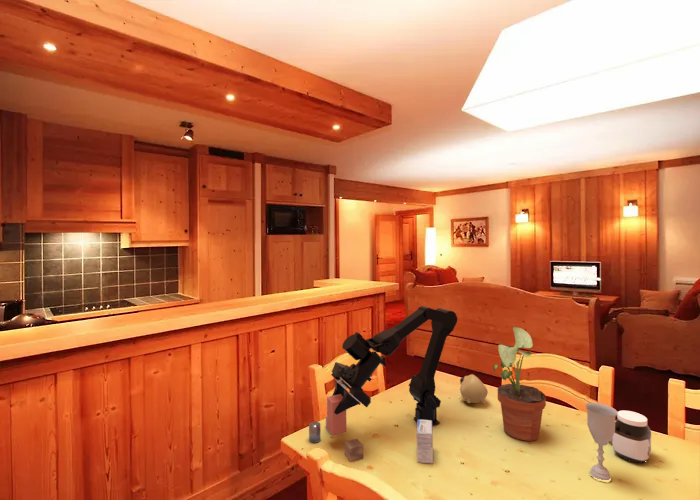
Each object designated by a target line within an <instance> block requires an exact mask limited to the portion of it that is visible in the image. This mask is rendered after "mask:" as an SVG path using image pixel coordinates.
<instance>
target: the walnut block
mask: <svg viewBox="0 0 700 500" xmlns="http://www.w3.org/2000/svg"><path fill="white" fill-rule="evenodd" d="M344 456H345V457H346V458H347V460H348V461H349V462H350V463H354V462H356V461H360V460H364V445H363V444H362V442H361V441H360V440H359V439H358V438H354V439H350V440H345V441H344Z"/></svg>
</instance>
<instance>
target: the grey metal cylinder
mask: <svg viewBox="0 0 700 500" xmlns="http://www.w3.org/2000/svg"><path fill="white" fill-rule="evenodd" d="M321 431H322V430H321V422H319V421H312V422H310V423H309V424H308V442H309V443H311V444H318V443H320V442H321V441H322V439H321V438H322V437H321V436H322V435H321V434H322V433H321Z"/></svg>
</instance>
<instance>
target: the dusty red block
mask: <svg viewBox="0 0 700 500" xmlns="http://www.w3.org/2000/svg"><path fill="white" fill-rule="evenodd" d="M342 399H343V396H342V395H341V394H339V395H334V396H332V395H329V396H326V417H327V429H328V430H329V431H330V433H331V435H332V436H333V437H334V436H338V435H341V434H342V435H343V434H346V433H347V429H348V427H347V410H345V411H343V412H341V413H339V414H337V415H336V414H335V413H334V411H335V410H336V408H337V406H338V405H339V403H340V402H341V400H342Z"/></svg>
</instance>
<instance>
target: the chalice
mask: <svg viewBox="0 0 700 500" xmlns="http://www.w3.org/2000/svg"><path fill="white" fill-rule="evenodd" d="M584 406H585V407H586V410H587V411H586V412H587V416H586V417H587V419H586V424H587V427H588V430H589V432H590V433H589V434H590V435H591V437H592V439H593V441H594V442H595V444H597V445H598V448H597V450H596V452H597V454H598V455H597V456H596V459H597V461H598V462H597V464H594V465H592V466H591V468H590V471H589V472H590V474H591V475H592V476H593V477H595V478H597V479H601V480H609V479H610V478H612V477H611V474H610V471H609V470H608V468H607V467H605V466H604V465H603V462H604V461H605V458H604V454H605V451H604V446H608V444H609V443H610V440H611V439H612V437H613V435H614V433H615V422H616V417H617V414H618V411H617V410H616V409H615V408H613V407H612V406H610V405H608V404H604V403H600V402H587V403H585V404H584Z"/></svg>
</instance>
